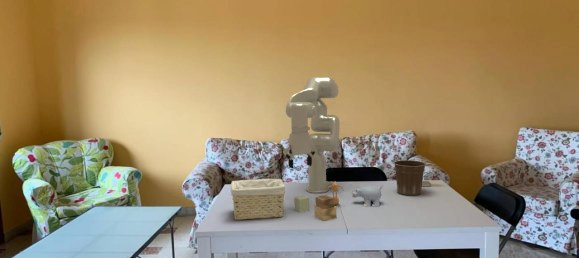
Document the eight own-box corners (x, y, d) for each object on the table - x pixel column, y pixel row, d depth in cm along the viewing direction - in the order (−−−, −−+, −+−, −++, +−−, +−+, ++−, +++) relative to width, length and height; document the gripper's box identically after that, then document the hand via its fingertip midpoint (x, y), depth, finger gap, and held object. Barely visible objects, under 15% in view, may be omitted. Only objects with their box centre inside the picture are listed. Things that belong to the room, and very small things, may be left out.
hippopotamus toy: (352, 199, 197) (351, 181, 196) (382, 200, 195) (382, 181, 194) (352, 206, 186) (352, 187, 185) (384, 207, 184) (384, 187, 183)
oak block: (327, 213, 178) (327, 202, 177) (336, 217, 172) (336, 207, 171) (314, 216, 174) (314, 205, 174) (323, 221, 168) (323, 209, 168)
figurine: (342, 203, 192) (342, 179, 190) (344, 206, 186) (344, 182, 184) (326, 203, 192) (325, 179, 190) (327, 207, 186) (326, 182, 184)
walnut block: (326, 203, 176) (326, 194, 176) (334, 206, 171) (334, 198, 171) (315, 205, 174) (315, 197, 173) (323, 209, 168) (322, 200, 168)
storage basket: (282, 207, 188) (281, 177, 187) (286, 218, 172) (285, 186, 171) (232, 210, 185) (230, 180, 183) (232, 222, 169) (230, 189, 167)
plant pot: (412, 187, 216) (413, 158, 215) (432, 195, 201) (432, 164, 199) (387, 190, 211) (387, 161, 209) (405, 198, 196) (405, 167, 194)
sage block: (303, 207, 187) (303, 195, 186) (309, 210, 182) (308, 197, 182) (294, 209, 184) (294, 197, 184) (299, 212, 180) (299, 199, 179)
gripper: (311, 128, 186) (312, 163, 188) (279, 130, 178) (280, 167, 180) (319, 129, 180) (320, 165, 182) (286, 132, 172) (287, 170, 174)
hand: (300, 166), depth 181 cm, fingers open, 9 cm apart
